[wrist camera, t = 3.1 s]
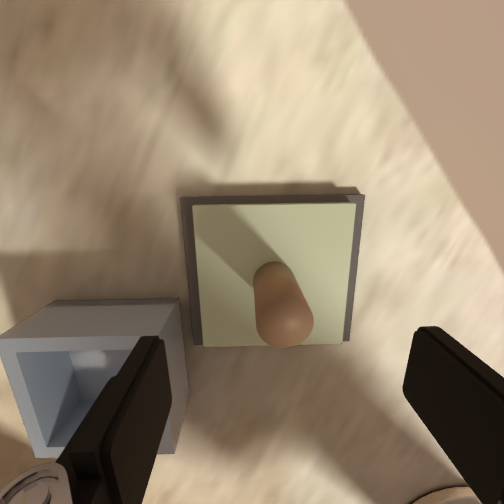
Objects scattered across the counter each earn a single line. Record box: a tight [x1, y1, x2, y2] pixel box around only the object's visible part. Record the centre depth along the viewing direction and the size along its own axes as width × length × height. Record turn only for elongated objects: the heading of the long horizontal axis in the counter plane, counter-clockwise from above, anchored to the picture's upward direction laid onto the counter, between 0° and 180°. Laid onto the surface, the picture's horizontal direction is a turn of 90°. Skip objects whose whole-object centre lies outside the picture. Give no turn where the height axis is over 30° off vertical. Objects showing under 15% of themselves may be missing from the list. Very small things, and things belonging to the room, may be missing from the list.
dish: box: [0, 298, 189, 458], centre depth 19 cm, size 10×10×5 cm
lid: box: [192, 202, 356, 348], centre depth 16 cm, size 11×11×7 cm
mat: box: [180, 194, 365, 345], centre depth 20 cm, size 13×12×1 cm
